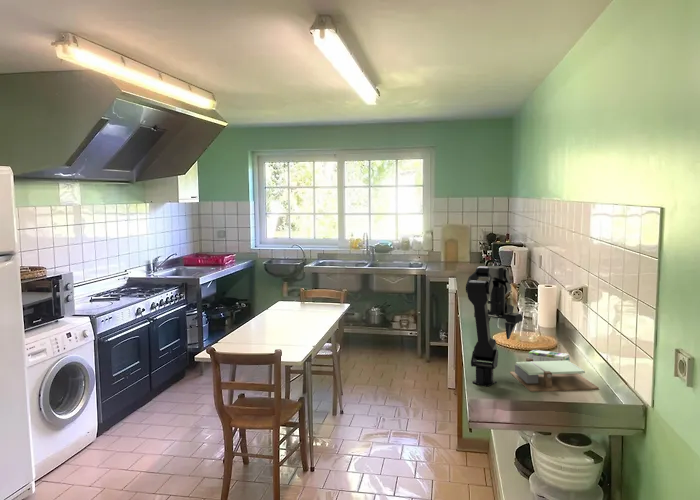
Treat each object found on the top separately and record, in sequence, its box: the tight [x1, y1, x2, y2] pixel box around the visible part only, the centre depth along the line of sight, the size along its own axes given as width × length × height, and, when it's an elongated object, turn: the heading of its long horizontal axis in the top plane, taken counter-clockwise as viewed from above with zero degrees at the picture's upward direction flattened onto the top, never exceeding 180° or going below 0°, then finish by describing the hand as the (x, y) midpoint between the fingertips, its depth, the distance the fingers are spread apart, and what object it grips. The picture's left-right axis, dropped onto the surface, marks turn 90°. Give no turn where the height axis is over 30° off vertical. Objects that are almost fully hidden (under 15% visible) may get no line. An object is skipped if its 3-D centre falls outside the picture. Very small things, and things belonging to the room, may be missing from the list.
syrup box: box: [527, 349, 571, 362], centre depth 215 cm, size 6×6×14 cm
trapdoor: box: [514, 360, 586, 384], centre depth 198 cm, size 20×14×4 cm
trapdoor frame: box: [509, 357, 600, 393], centre depth 198 cm, size 24×22×6 cm
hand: (497, 337), depth 213 cm, fingers open, 9 cm apart
